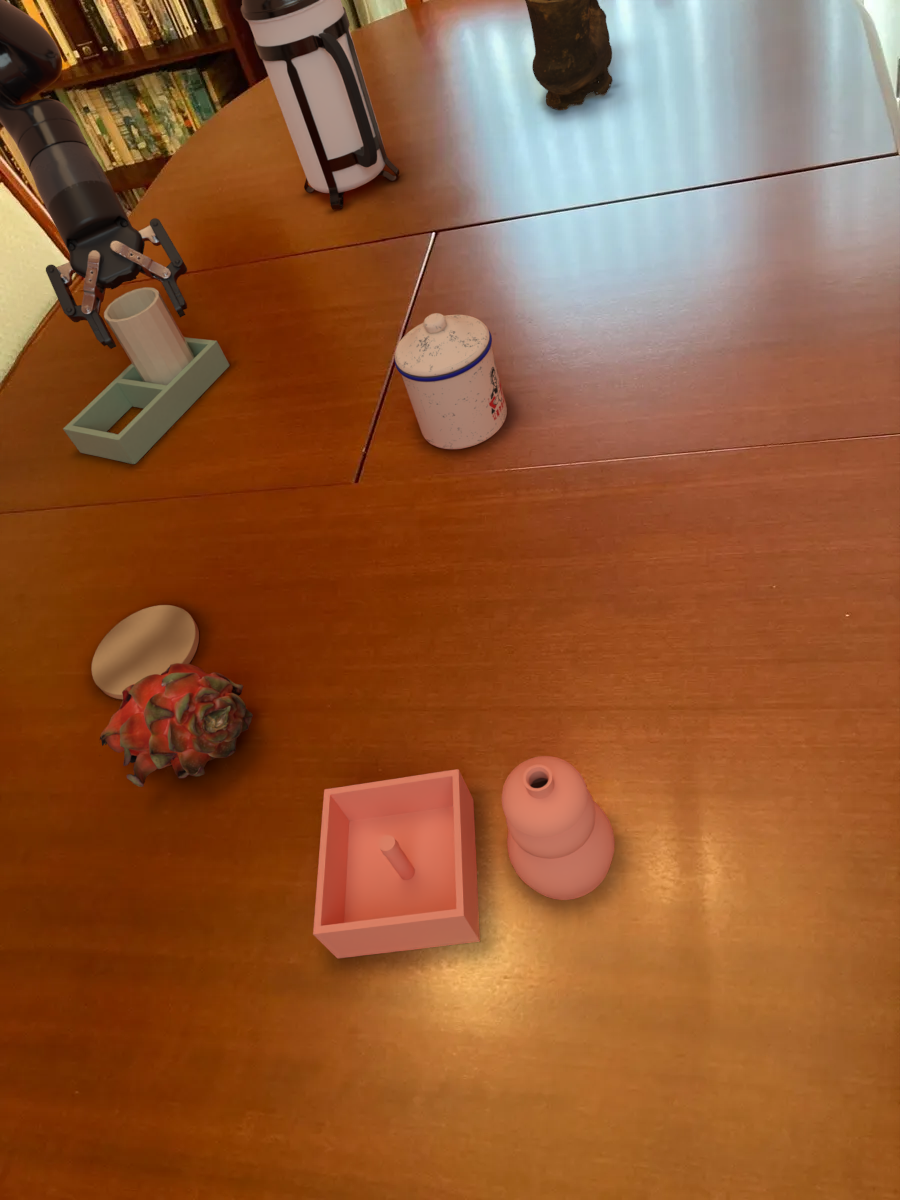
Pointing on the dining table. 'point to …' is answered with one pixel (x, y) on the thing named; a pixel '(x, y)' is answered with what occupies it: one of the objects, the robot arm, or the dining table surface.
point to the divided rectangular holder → (144, 406)
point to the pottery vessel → (570, 49)
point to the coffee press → (320, 92)
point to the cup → (149, 335)
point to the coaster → (144, 647)
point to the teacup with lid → (452, 380)
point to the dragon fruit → (177, 721)
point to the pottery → (447, 854)
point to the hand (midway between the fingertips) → (147, 330)
